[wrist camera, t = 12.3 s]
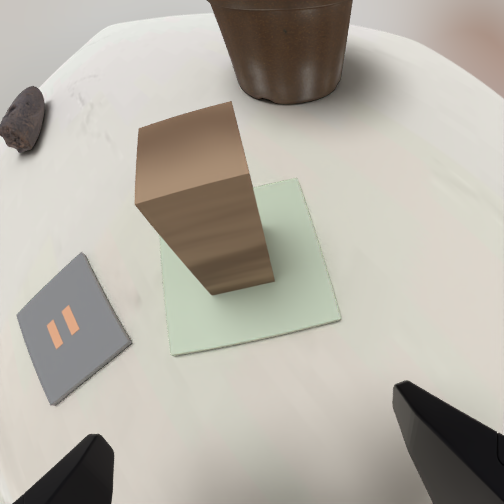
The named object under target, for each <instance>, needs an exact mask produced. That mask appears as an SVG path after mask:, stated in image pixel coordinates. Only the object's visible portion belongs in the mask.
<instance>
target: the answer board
mask: <svg viewBox="0 0 504 504" xmlns="http://www.w3.org/2000/svg"><path fill="white" fill-rule="evenodd" d="M253 190H254V194H255V198H256V202H257V207H258V211H259V215H260V219H261V223H262V227H263V232H264V236H265V240H266V244H267V249H268V253H269V257H270V262H271V266H272V270H273V275H274V279H275V282H271V283H266V284H262V285H258V286H253V287H249V288H244V289H240V290H235V291H231V292H226V293H222V294H217V295H211V294H210V293H209V292H208V291H207V290H206V289H205V288H204V286H203V285H202V284H201V283H200V282H199V281H198V280H197V278H196V277H195V276H194V275H193V274H192V273H191V271H190V270H189V269H188V268H187V267H186V266H185V265H184V263H183V262H182V261H181V260H180V259H179V257H178V256H177V255H176V254H175V253H174V252H173V250H172V249H171V248H170V247H169V246H168V244H167V243H166V242H165V241H164V240H163V238H162V237H161V236H160V235H159V236H160V253H161V267H162V279H163V291H164V301H165V311H166V321H167V329H168V338H169V346H170V353H171V355H172V356H177V355H183V354H189V353H195V352H201V351H206V350H212V349H217V348H223V347H228V346H233V345H238V344H243V343H247V342H252V341H257V340H262V339H266V338H271V337H275V336H279V335H284V334H288V333H292V332H296V331H301V330H305V329H309V328H313V327H317V326H320V325H324V324H328V323H332V322H336V321H339V320H340V319H341V317H340V313H339V309H338V306H337V302H336V299H335V295H334V292H333V288H332V285H331V282H330V278H329V275H328V271H327V268H326V265H325V262H324V258H323V255H322V252H321V249H320V245H319V242H318V239H317V236H316V233H315V230H314V227H313V224H312V221H311V218H310V214H309V211H308V208H307V206H306V203H305V200H304V197H303V194H302V191H301V188H300V185H299V182H298V179H297V178H293V179H289V180H284V181H280V182H275V183H271V184H267V185H262V186H258V187H254V188H253Z"/></svg>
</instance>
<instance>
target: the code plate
mask: <svg viewBox="0 0 504 504" xmlns="http://www.w3.org/2000/svg"><path fill="white" fill-rule="evenodd" d="M17 319H18V322H19V325H20V328H21V331H22V334H23V338H24V340H25V343H26V346H27V349H28V352H29V355H30V357H31V360H32V363H33V365H34V368H35V370H36V373H37V375H38V378H39V380H40V383H41V385H42V387H43V390H44V392H45V394H46V396H47V399H48V401H49V403H50V405H56V404H57V403H59V402H60V401H61V400H62V399H64V398H65V397H66V396H67V395H68V394H70V393H71V392H72V391H73V390H75V389H76V388H77V387H78V386H80V385H81V384H82V383H83V382H85V381H86V380H87V379H88V378H89V377H91V376H92V375H93V374H94V373H96V372H97V371H98V370H99V369H101V368H102V367H103V366H104V365H105V364H107V363H108V362H109V361H110V360H112V359H113V358H114V357H115V356H117V355H118V354H119V353H120V352H122V351H123V350H124V349H125V348H127V347H128V346H129V345H130V344H131V343H132V342H131V340H130V338H129V337H128V335H127V333H126V332H125V330H124V328H123V326H122V325H121V323H120V321H119V319H118V318H117V316H116V314H115V312H114V311H113V309H112V307H111V305H110V303H109V301H108V299H107V298H106V296H105V294H104V292H103V290H102V288H101V286H100V284H99V282H98V280H97V278H96V276H95V274H94V272H93V270H92V268H91V266H90V264H89V262H88V260H87V258H86V256H85V254H84V253H82V252H81V253H80V254H79V255H77V256H76V257H75V258H74V259H73V260H72V261H71V262H70V263H69V264H68V265H67V266H65V267H64V268H63V269H62V270H61V271H60V272H59V273H58V274H57V275H56V276H55V277H54V278H53V279H52V280H51V281H50V282H49V283H47V284H46V285H45V286H44V287H43V288H42V289H41V290H40V291H39V292H38V293H37V294H36V295H35V296H34V297H33V298H32V299H31V300H30V301H29V302H28V303H27V304H26V305H25V306H24V307H23V308H22V310H21V311H20V312H19V313H18V314H17Z"/></svg>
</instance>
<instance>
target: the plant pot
mask: <svg viewBox="0 0 504 504" xmlns="http://www.w3.org/2000/svg"><path fill="white" fill-rule="evenodd" d="M207 1H208V2H209V3H210V4H211V6H212V9H213V11H214V14H215V17H216V20H217V22H218V25H219V28H220V30H221V33H222V36H223V39H224V41H225V44H226V47H227V50H228V53H229V56H230V59H231V62H232V65H233V68H234V71H235V74H236V77H237V80H238V83H239V85H240V87H241V88H242V89H243V90H244V91H245V92H246V93H247V94H249V95H250V96H252V97H254V98H256V99H260V98H266V99H269V100H271V101H273V102H274V103H278V104H295V103H303V102H308V101H313V100H316V99H319V98H322V97H324V96H326V95H328V94H330V93H331V92H332V91H334V90H335V88H336V86H337V84H338V82H339V81H340V79H341V73H342V66H343V61H344V54H345V48H346V42H347V35H348V28H349V22H350V15H351V8H352V1H353V0H207Z"/></svg>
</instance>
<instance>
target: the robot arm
mask: <svg viewBox="0 0 504 504" xmlns="http://www.w3.org/2000/svg"><path fill="white" fill-rule="evenodd" d="M393 409H394V412H395V415H396V418H397V420H398V423H399V426H400V429H401V432H402V435H403V438H404V441H405V444H406V446H407V449H408V452H409V454H410V456H411V458H412V460H413V462H414V464H415V466H416V469H417V471H418V473H419V475H420V477H421V479H422V481H423V483H424V485H425V487H426V489H427V492H428V494H429V496H430V498H431V500H432V502H433V504H504V435H502V434H500V433H497V431H495V430H493V429H491V428H489V427H488V426H486V425H484V424H482V423H481V422H479V421H477V420H475V419H474V418H472V417H470V416H468V415H466V414H465V413H463V412H461V411H460V410H458V409H456V408H454V407H453V406H451V405H449V404H447V403H446V402H444V401H442V400H441V399H439V398H437V397H435V396H434V395H432V394H430V393H429V392H427V391H425V390H424V389H422V388H420V387H418V386H417V385H415V384H413V383H412V382H410V381H407V380H406V381H403V382H400V383H397V384H395V385H394V388H393ZM113 471H114V451H113V449H112V448H111V446H110V445H109V444H108V443H107V442H106V440H105V439H104V438H103V437H102V436H101V435H100V434H89V435H87V436H86V437H85V438H84V439H83V440H82V441H81V442H80V443H79V444H78V445H77V446H76V447H74V448H73V449H72V450H71V451H70V452H69V453H68V454H67V455H66V456H65V457H64V458H63V459H61V460H60V461H59V462H58V463H57V464H56V465H55V466H54V467H53V468H52V469H51V470H50V471H48V472H47V473H46V474H45V475H44V476H43V477H42V478H41V479H40V480H39V481H37V482H36V483H35V484H34V485H33V486H32V487H31V488H30V489H29V490H28V491H26V492H25V494H23V495H22V496H21V497H20V498H19V499H17V500H16V501H15V502H14V503H13V504H111V502H112V493H113Z"/></svg>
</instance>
